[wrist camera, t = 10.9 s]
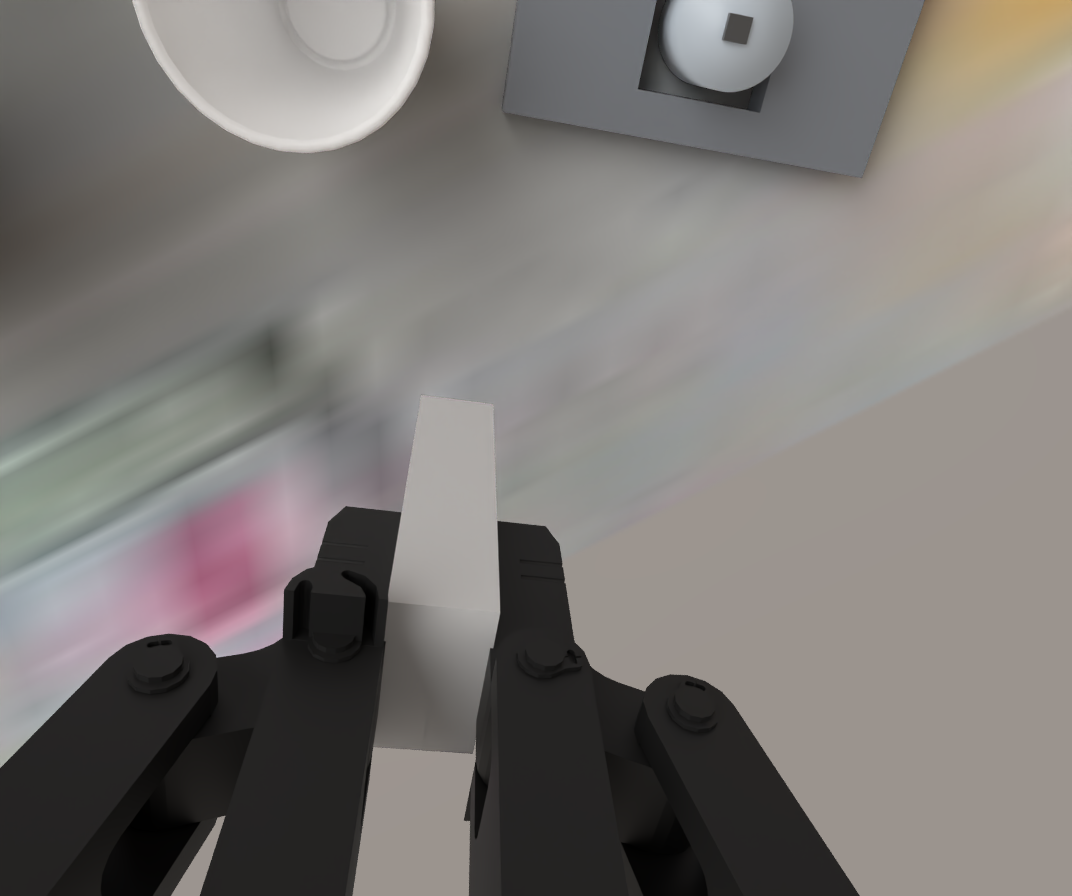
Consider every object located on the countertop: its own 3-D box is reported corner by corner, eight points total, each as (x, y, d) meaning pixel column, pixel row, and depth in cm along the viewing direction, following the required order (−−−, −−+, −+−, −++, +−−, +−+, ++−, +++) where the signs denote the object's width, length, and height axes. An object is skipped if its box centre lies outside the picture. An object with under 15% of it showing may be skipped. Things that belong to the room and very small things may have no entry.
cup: (223, -154, 32) (112, -236, 22) (460, -101, 33) (452, -156, 24) (225, 102, 37) (133, 126, 27) (434, 140, 38) (418, 176, 28)
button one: (647, 75, 37) (668, 81, 33) (672, -42, 34) (698, -52, 30) (742, 94, 37) (775, 102, 33) (773, -20, 35) (812, -27, 31)
